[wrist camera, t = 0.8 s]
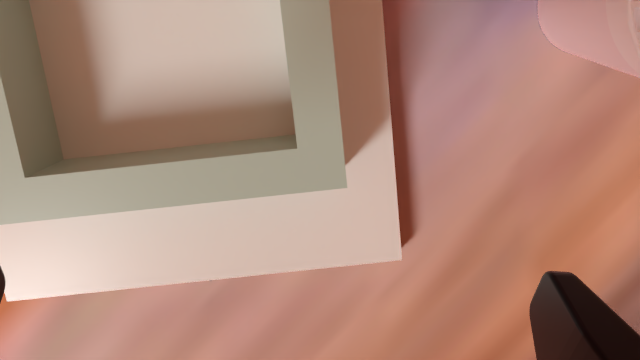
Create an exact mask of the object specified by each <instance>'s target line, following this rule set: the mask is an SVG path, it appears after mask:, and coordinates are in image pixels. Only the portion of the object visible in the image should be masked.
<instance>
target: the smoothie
mask: <svg viewBox="0 0 640 360" xmlns="http://www.w3.org/2000/svg"><path fill="white" fill-rule="evenodd" d="M537 12H538V20H539V24H540V27H541V29H542V31H543V33H544V35H545V36H546V38H547V39H548V40H549V41H550V42H551V43H552V44H553V45H554V46H555V47H557V48H558V49H560V50H562V51H564V52H567V53H570V54H573V55H575V56H578V57H581V58H584V59H587V60H590V61H593V62H595V63H598V64H601V65H604V66H607V67H610V68H612V69H615V70H618V71H621V72H624V73H627V74H629V75H632V76H635V77H638V78H640V0H538V6H537Z"/></svg>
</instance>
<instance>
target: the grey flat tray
mask: <svg viewBox="0 0 640 360" xmlns="http://www.w3.org/2000/svg"><path fill="white" fill-rule="evenodd" d="M398 260H402V252H401V239H400V226H399V213H398V200H397V187H396V174H395V161H394V148H393V135H392V122H391V109H390V96H389V83H388V70H387V57H386V44H385V31H384V18H383V5H382V0H0V266H1V268H2V271H3V273H4V276H5V290H4V292H5V296H6V300H7V301H17V300H26V299H36V298H45V297H55V296H64V295H74V294H83V293H93V292H102V291H112V290H122V289H131V288H141V287H150V286H160V285H169V284H179V283H188V282H198V281H207V280H217V279H227V278H236V277H246V276H255V275H265V274H274V273H284V272H293V271H303V270H312V269H322V268H332V267H341V266H351V265H360V264H370V263H379V262H389V261H398Z"/></svg>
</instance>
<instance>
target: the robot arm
mask: <svg viewBox="0 0 640 360" xmlns="http://www.w3.org/2000/svg"><path fill="white" fill-rule="evenodd" d="M4 290H5V276H4V273H3V271H2V268H1V266H0V302H1V300H2V297H3V294H4ZM530 321H531V327H532V333H533V340H534V346H535V352H536V358H537V360H640V335H639V334H638V333H637V332H635V331H634V330H633V329H632V328H631V327H630V326H629V325H628V324H627V323H626V322H625V321H624V320H623V319H622V318H620V317H619V316H618V315H617V314H616V313H615V312H614V311H613V310H612V309H611V308H610V307H609V306H608V305H607V304H606V303H604V302H603V301H602V300H601V299H600V298H599V297H598V296H597V295H596V294H595V293H594V292H593V291H592V290H591V289H589V288H588V287H587V286H586V285H585V284H584V283H583V282H582V281H581V280H580V279H579V278H578V277H577V276H575V275H574V274H572V273H570V272H558V271H548V272H546V273H545V274H544V275H543V276H542V278H541V281H540V283H539V285H538V287H537V290H536V292H535V294H534V296H533V299H532V301H531V304H530Z"/></svg>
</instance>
